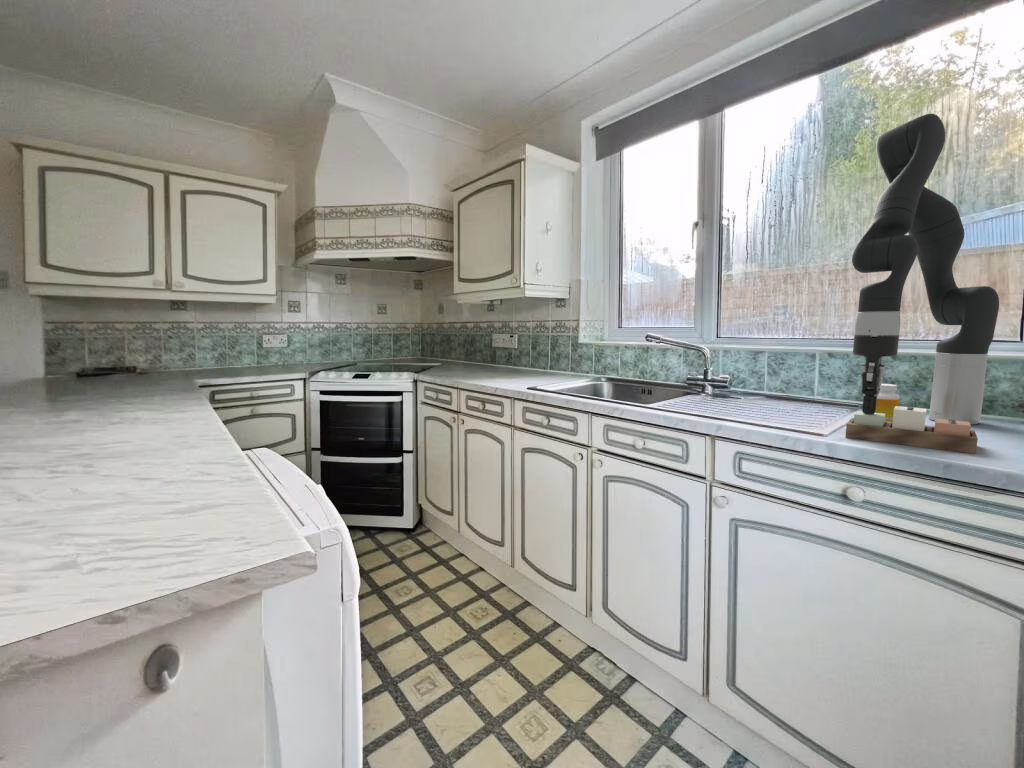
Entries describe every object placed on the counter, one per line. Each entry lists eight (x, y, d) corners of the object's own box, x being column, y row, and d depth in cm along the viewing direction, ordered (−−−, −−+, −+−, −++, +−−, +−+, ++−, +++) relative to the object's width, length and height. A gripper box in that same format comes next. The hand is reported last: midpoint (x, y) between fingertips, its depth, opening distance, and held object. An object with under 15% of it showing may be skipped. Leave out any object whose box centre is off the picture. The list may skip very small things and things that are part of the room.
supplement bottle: (902, 426, 110) (906, 386, 109) (876, 425, 111) (880, 385, 110) (888, 421, 115) (892, 383, 114) (864, 420, 116) (868, 383, 115)
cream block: (891, 428, 95) (893, 408, 95) (893, 424, 99) (895, 405, 99) (924, 431, 92) (926, 411, 92) (924, 427, 96) (926, 407, 95)
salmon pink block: (933, 441, 91) (935, 421, 91) (933, 437, 95) (935, 417, 94) (968, 446, 88) (970, 424, 87) (966, 441, 92) (969, 420, 91)
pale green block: (852, 432, 100) (854, 413, 99) (855, 428, 104) (857, 410, 103) (881, 435, 97) (883, 416, 96) (883, 431, 100) (885, 412, 100)
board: (845, 437, 99) (846, 423, 99) (850, 430, 106) (852, 417, 106) (975, 454, 86) (977, 438, 86) (972, 444, 92) (974, 430, 92)
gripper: (858, 333, 105) (851, 407, 107) (850, 333, 95) (843, 415, 97) (901, 333, 100) (892, 411, 102) (897, 334, 90) (888, 420, 92)
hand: (868, 413), depth 100 cm, fingers closed
